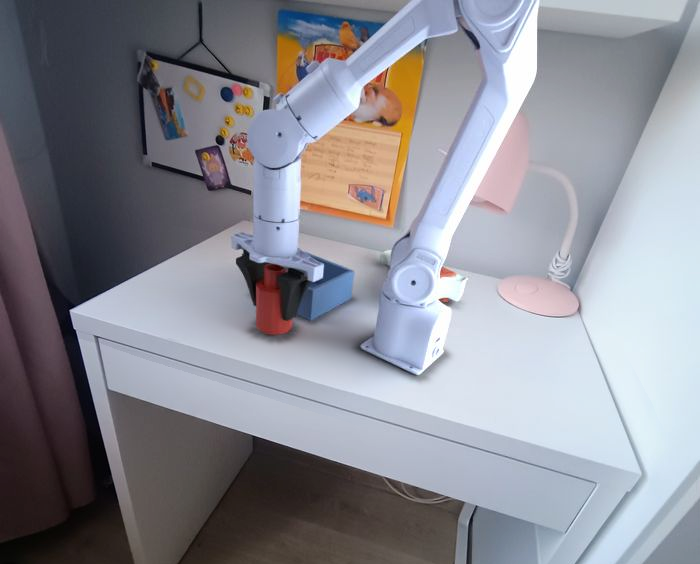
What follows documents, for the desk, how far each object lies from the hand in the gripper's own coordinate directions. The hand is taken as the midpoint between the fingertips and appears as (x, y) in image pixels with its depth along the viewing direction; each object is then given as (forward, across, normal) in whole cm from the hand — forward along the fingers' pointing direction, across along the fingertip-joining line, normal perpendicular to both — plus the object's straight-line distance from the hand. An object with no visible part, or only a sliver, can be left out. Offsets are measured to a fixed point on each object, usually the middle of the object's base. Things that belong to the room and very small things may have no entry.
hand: (274, 310), depth 66 cm
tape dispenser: (+3, +8, +28) cm, 30 cm away
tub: (+3, -4, +11) cm, 12 cm away
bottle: (+2, 0, 0) cm, 2 cm away
